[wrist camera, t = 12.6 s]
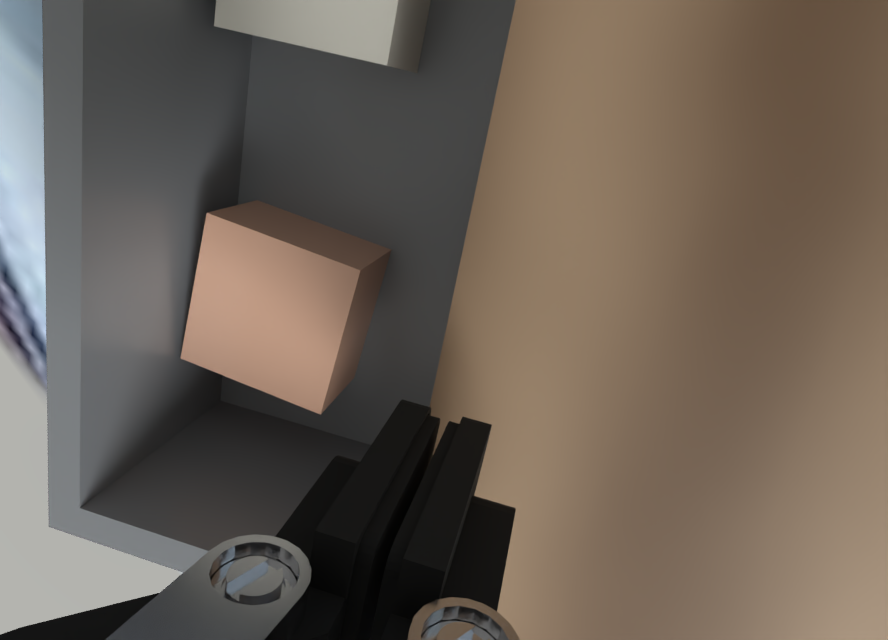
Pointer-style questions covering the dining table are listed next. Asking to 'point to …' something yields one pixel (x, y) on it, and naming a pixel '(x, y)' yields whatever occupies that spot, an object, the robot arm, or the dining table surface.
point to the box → (180, 235)
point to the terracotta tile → (282, 302)
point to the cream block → (336, 26)
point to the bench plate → (683, 319)
